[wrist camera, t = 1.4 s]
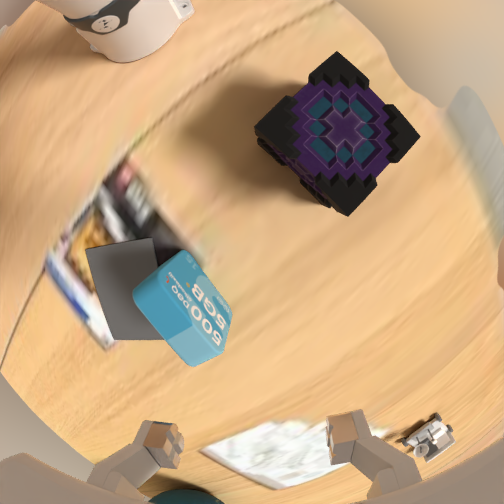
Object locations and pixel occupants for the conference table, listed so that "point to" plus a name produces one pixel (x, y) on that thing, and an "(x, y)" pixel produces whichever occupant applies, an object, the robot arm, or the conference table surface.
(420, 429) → the toy car
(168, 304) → the light blue flat block
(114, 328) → the mat
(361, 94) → the energy cube
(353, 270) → the conference table surface
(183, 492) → the globe
